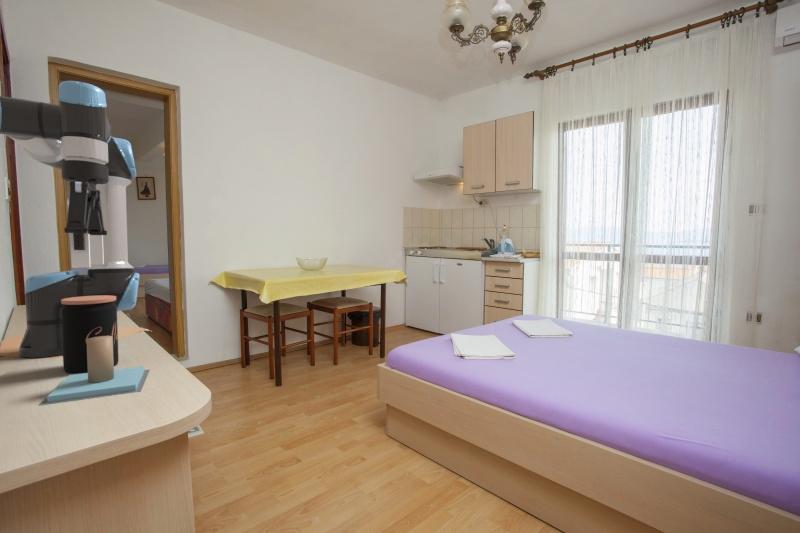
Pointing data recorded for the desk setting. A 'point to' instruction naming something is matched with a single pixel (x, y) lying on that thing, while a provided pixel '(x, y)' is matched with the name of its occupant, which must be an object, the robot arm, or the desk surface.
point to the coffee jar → (86, 328)
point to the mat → (106, 394)
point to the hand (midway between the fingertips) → (89, 266)
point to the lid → (98, 374)
